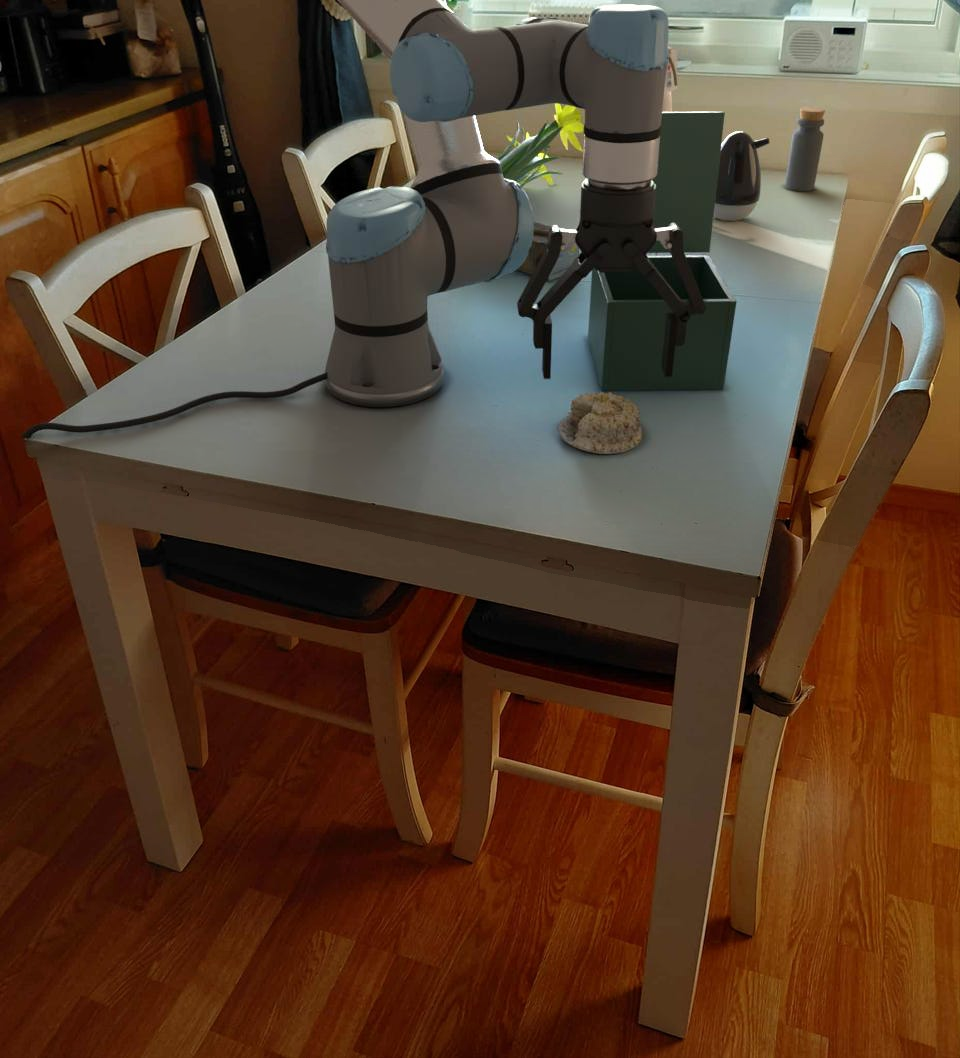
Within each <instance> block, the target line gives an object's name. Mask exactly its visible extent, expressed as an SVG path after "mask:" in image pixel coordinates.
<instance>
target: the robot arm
mask: <svg viewBox="0 0 960 1058" xmlns="http://www.w3.org/2000/svg"><path fill="white" fill-rule="evenodd" d="M336 1H337V2H338V3H339V5H341V6H342V8H343V9H344V10H345V11H346V12H347V13H348V14H349V16H350V17H352V19H353V20H354V21H355V22H356V23H357V24H358V25H359V26H360V28H361V29H362V30H363V31H364V32H365V33H366V34H367V35H368V37H369V38H370V39H371V40H372V41H373V42H374V43H375V44H376V46H377V47H378V48H379V49H380V50H381V51H382V52H383V53H384V54H385V55H386V57H387V60H388V65H389V78H390V79H389V80H390V85H391V90H392V93H393V95H394V96H396V99H397V106H398V107H399V109H400V111H401V112H402V115H403V119H404V122H405V126H406V131H407V134H408V137H409V141H410V145H411V149H412V153H413V156H414V160H415V163H416V167H417V174H416V175H415V178H414V180H413V181H412V184H411V185H410V187H405V186H395V185H394V186H388V187H385V188H382V187H373V188H368V189H365V190H361V191H358V192H354V193H352V194H350V195H348V196H346V197H344V198H342V199H340V200H339V201H338V202H337V203H336V204H334V205H333V207H332V208H331V209H330V211H329V213H328V214H327V217H326V243H325V253H326V254H327V258H328V259H327V260H328V270H329V278H330V289H331V299H332V306H333V307H332V308H333V319H334V331H333V334H332V340H331V344H330V348H329V351H328V356H327V359H326V364H325V369H324V372H323V373H321V374H319V375H316V376H314V377H311V378H309V379H306V380H304V381H301V382H299V383H297V384H295V385H293V386H290V387H289V388H285V389H279V390H274V391H273V390H272V391H247V390H233V391H223V392H217V393H213V394H208V395H204V396H201V397H198V398H195V399H193V400H191V401H188V402H185V403H183V404H181V405H179V406H176V407H173V408H171V409H168V410H165V411H162V412H159V413H155V414H150V415H147V416H146V415H145V416H141V417H137V418H131V419H126V420H121V421H114V422H106V423H97V424H88V425H72V424H65V423H57V422H40V423H37V424H35V425H32V426H30V427H29V428H28V429H26V431H24V432H23V434H22V435H21V439H23V440H24V439H29V438H32V436H33V435H34V434H35V433H37V432H40V431H45V430H53V431H59V432H67V433H76V434H77V433H80V434H81V433H93V432H102V431H110V430H118V429H124V428H131V427H136V426H141V425H145V424H149V423H153V422H158V421H161V420H165V419H168V418H171V417H174V416H176V415H179V414H181V413H183V412H186V411H188V410H191V409H193V408H195V407H196V408H197V407H198V406H202V405H203V404H207V403H211V402H214V401H218V400H224V399H236V398H237V399H238V398H239V399H241V398H245V399H274V398H281V397H287V396H290V395H292V394H296V393H298V392H300V391H301V390H303V389H306V388H308V387H310V386H313V385H315V384H318V383H320V382H323V381H325V386H326V388H327V390H328V392H329V393H330V394H331V395H332V396H334V398H337V399H338V400H340V401H343V402H345V403H347V404H348V403H349V404H352V405H355V406H360V407H367V408H368V407H369V408H391V407H393V408H394V407H401V406H406V405H410V404H414V403H417V402H420V401H423V400H425V399H428V398H429V397H431V396H432V395H434V394H436V393H437V392H438V391H440V389H441V388H442V386H443V385H444V382H445V366H444V361H443V358H442V356H441V354H440V351H439V349H438V346H437V343H436V341H435V338H434V335H433V333H432V330H431V327H430V323H429V316H428V315H429V313H428V297H430V296H432V295H436V294H440V293H444V292H448V291H452V290H456V289H460V288H464V287H469V286H472V285H476V284H480V283H489V282H491V281H495V280H497V279H498V278H500V277H503V276H507V275H510V274H512V273H514V272H516V271H518V270H517V269H518V268H519V267H520V266H521V265H522V264H523V262H524V261H525V259H526V257H527V255H528V252H529V248H530V247H531V244H532V239H533V231H534V222H533V221H534V213H533V208H532V204H531V201H530V198H529V195H528V194H527V193H526V191H525V190H524V189H522V188H521V186H520V185H519V184H518V183H516V182H515V181H512V180H509V179H504V177H503V173H502V169H501V166H500V162H499V161H498V160H497V158H495V157H493V156H492V155H490V154H488V153H487V152H486V151H485V148H484V146H483V141H482V138H481V133H480V130H479V125H478V122H477V118H476V116H481V115H487V114H492V113H498V112H503V111H513V110H519V109H525V108H531V107H537V106H543V105H551V104H555V103H559V104H560V105H564V106H566V105H569V106H574V107H576V108H577V109H583V110H584V124H583V125H584V132H583V148H582V150H583V152H582V169H581V174H582V175H583V177H584V178H585V179H584V180H583V182H582V183H581V185H580V187H581V188H580V210H579V222H578V225H577V227H576V229H566V228H561V227H560V226H559V225H557V224H553V225H550V226H551V227H550V229H549V235H548V242H547V247H546V249H545V250H544V252H543V254H542V256H541V258H540V260H539V262H538V264H537V266H536V268H535V270H534V271H533V273H532V275H530V277H529V279H528V281H527V283H526V285H525V287H524V289H523V291H522V292H521V294H520V296H519V298H518V300H517V302H516V305H517V306H516V307H517V314H518V316H519V317H521V318H528V319H530V320H532V323H533V324H532V342H533V346H534V348H535V350H536V349H537V350H538V349H540V350H541V349H542V356H541V357H542V358H541V359H542V361H541V362H542V364H541V370H542V371H541V372H542V377H543V380H551V377H552V376H551V375H552V374H551V372H552V342H553V341H552V340H553V321H552V315H551V314H553V312H554V311H555V310H556V309H557V307H559V305H560V304H561V303H562V302H563V301H564V300H565V298H566V297H568V295H569V294H570V293H571V292H572V291H573V290H574V289H575V288H576V287H577V285H578V284H579V283H580V282H581V281H582V280H583V279H585V278H587V276H588V275H589V274H590V273H592V270H593V269H595V270H597V271H599V272H600V273H607V272H611V271H618V272H629V270H632V269H634V268H635V267H636V266H637V267H638V269H639V270H640V271H641V273H642V274H643V275H644V276H645V277H646V278H647V279H648V281H649V282H650V283H651V284H652V286H653V287H654V288H655V289H656V291H657V292H658V293H659V294H660V296H661V297H662V298H663V299H664V301H665V302H666V303H667V304H668V306H669V307H670V308H671V309H672V311H673V312H667V314H666V324H665V334H664V344H663V355H662V365H661V367H662V370H663V372H664V375H665V377H672V372H673V363H674V353H675V346H683V344H684V342H685V336H686V327H687V322H688V321H689V320H690V316H692V315H695V314H703V313H704V312H705V311H706V306H705V303H704V301H703V298H702V296H701V293H700V291H699V288H698V286H697V283H696V281H695V278H694V276H693V273H692V271H691V268H690V266H689V263H688V261H687V258H686V256H687V255H686V253H684V251H683V232H682V231H681V229H680V227H679V226H678V224H677V223H671V224H670V225H669V226H668V227H665V228H657V229H654V226H653V217H654V205H655V193H656V185H655V183H654V182H653V181H652V180H653V179H654V178H655V177H656V176H657V171H658V158H659V144H660V132H661V118H662V108H663V97H664V87H665V78H666V70H667V64H668V60H669V55H670V53H669V54H668V46H669V17H668V13H666V11H665V10H664V9H663V8H662V7H659V6H655V5H650V4H633V3H620V4H619V3H618V4H605V5H600V6H596V7H595V8H594V9H592V10H591V11H590V14H589V17H588V24H586V23H579V22H573V21H568V20H563V19H559V18H557V17H553V16H547V17H527V18H524V19H521V20H520V21H519V22H518V23H516V24H515V25H507V26H494V27H487V28H486V27H485V28H475V29H473V28H470V27H468V26H467V25H466V24H465V23H464V22H463V20H461V18H460V17H459V16H457V15H456V14H455V13H454V11H453V10H451V9H450V7H448V5H447V1H446V0H336ZM656 241H660V242H661V243H662V245H663V247H664V248H665V249H669V250H670V253H669V254H670V256H672V258H673V261H674V263H675V265H676V268H677V270H678V273H679V275H680V278H681V280H682V282H683V285H684V287H685V290H686V292H687V295H688V297H689V300H688V301H685V302H682V300H681V299H680V298H679V297H678V295H677V294H676V293H675V292H674V290H673V289H672V288H671V286H670V285H669V284H668V283H667V281H666V280H665V279H664V278H663V276H662V275H661V274H660V272H659V271H658V270H657V269H656V267H655V266H654V265H653V264H652V262H651V261H650V259H649V258H648V257H647V256H648V255H647V254H649V253H648V251H649V250H650V249H651V248H652V246H653V245H654V244H655V242H656ZM572 242H576V245H577V246H578V248H579V255H578V256H577V257H576V258H575V259H574V261H573V263H572V265H571V266H570V267H569V268H568V269H567V270H566V271H565V272H564V274H563V275H562V276H561V277H558V278H557V280H556V281H555V282H554V284H552V286H551V287H550V288H549V289H548V290H547V291H546V293H545V294H544V295H543V296H542V297H541V298H540V299H539V298H538V297H539V296H540V294H541V292H542V290H543V289H544V287H545V285H546V283H547V282H548V281H547V279H548V277H549V275H550V273H551V272H552V270H553V268H554V266H555V264H556V262H557V260H558V258H559V255H560V251H565V250H566V249H567V248H568V245H569V244H570V243H572ZM537 299H539V300H538V302H536V301H537Z"/></svg>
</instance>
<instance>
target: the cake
mask: <svg viewBox="0 0 960 1058" xmlns="http://www.w3.org/2000/svg"><path fill="white" fill-rule="evenodd" d="M570 411H571V412H569V411H568V412H567V415H566V417H563V418H562V419H561V421H560V422H559V424H558V427H557V430H558V434H559V435H560V437H561V438H562V440H563V441H564V442H565V443H567V444H568V445H570V446H572V447H574V448H577V449H579V450H581V451H585V452H588V453H593V454H598V455H599V454H600V455H604V454H605V455H612V454H621V453H623V454H624V453H625V452H628V451H629V452H630V451H631V450H632V449H635V448H636V447H638V446H640V445H639V444H640V443H642V440H643V438H644V437H643V433H642V425H641V424H640V423H641V420H642V418H640V414H641V413H640V411H639V408H638V405H636V404H634V402H632V400H631V401H630V400H629V397H627V398H625V397H624V396H623V397H622V396H621V395H619V394H618V395H615V394H613V393H612V391H608V392H606V393H605V392H604V391H599V392H590V393H587V392H585V393H582V394H581V393H579V394H578V395H577V396H576V397H575V398H573V399H571V404H570Z"/></svg>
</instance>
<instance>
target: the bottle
mask: <svg viewBox="0 0 960 1058" xmlns="http://www.w3.org/2000/svg"><path fill="white" fill-rule="evenodd" d="M799 110H800V111H799V115H800V117H798V118H797V120H796V124H797V125H798V126H799V127H798V128H797V129H796V130H794V131H793V133H792V138H791V144H790V150H789V157H788V163H787V167H786V175H785V181H784V188H785V189H787V190H791V191H794V192H809V191H812V190H814V189H815V185H816V179H817V174H818V169H819V164H820V159H821V152H822V147H823V141H824V136H825V134H824V132H823V131H822V130H821V127H823V126H824V125H825V119H824V115H825V112H826V110H825V109H824V108H822V107H815V106H805V107H801V108H800V109H799Z"/></svg>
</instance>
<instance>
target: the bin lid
mask: <svg viewBox="0 0 960 1058" xmlns="http://www.w3.org/2000/svg"><path fill="white" fill-rule="evenodd" d="M725 115H726V112H725V111H672V112H662V118H661V132H660V144H659V158H658V171H657V176H656V177H655V178H654V179H653V180H652V181H653V182H654V183H655V185H656V193H655V205H654V217H653V226H654V229H657V228H665V227H668V226H669V225H670V224H671V223H677V224H678V226H679V227H680V229H681V231H682V232H683V251H684V253H685V254H686V253H687V254H689V253H690V254H691V253H695V254H696V253H697V254H699V253H701V254H703V253H710V252H711V243H712V233H713V225H714V207H715V198H716V189H717V180H718V171H719V161H720V152H721V145H722V143H723V132H724V125H725V124H724V123H725ZM647 254H671V253H670V250H669V249H665V248H664V247H663V245H662V243H661V242H660V241H656V242H655V244H654V245H653V246H652V248H651V249H650V250H649V251H648V253H647Z"/></svg>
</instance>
